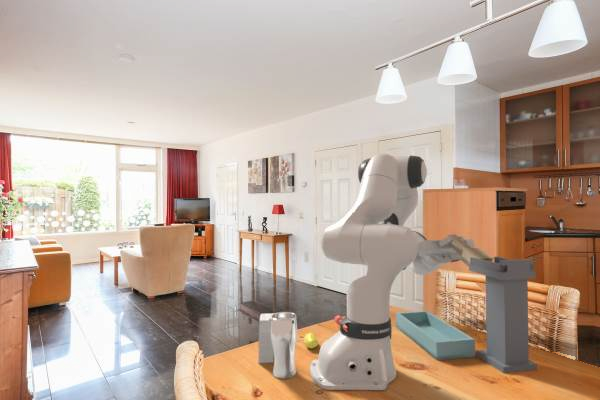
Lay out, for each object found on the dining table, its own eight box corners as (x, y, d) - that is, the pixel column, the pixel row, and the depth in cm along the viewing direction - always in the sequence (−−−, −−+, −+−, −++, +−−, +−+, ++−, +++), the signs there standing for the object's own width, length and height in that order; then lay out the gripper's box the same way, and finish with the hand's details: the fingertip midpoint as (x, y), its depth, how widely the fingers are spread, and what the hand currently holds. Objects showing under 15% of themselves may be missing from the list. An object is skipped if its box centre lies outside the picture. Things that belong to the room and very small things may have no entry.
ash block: (471, 270, 102) (475, 258, 101) (442, 242, 118) (444, 232, 116) (489, 269, 103) (493, 258, 102) (457, 241, 119) (460, 231, 117)
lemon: (316, 341, 109) (316, 329, 109) (318, 352, 101) (318, 339, 101) (303, 341, 109) (303, 329, 109) (304, 352, 101) (304, 339, 101)
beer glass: (282, 364, 93) (281, 309, 93) (302, 371, 89) (302, 314, 89) (265, 374, 88) (265, 316, 88) (286, 382, 84) (286, 322, 84)
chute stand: (503, 372, 87) (501, 261, 88) (470, 351, 100) (468, 253, 100) (537, 369, 89) (535, 259, 89) (500, 348, 102) (498, 252, 102)
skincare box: (259, 354, 100) (259, 313, 100) (275, 353, 100) (274, 312, 100) (258, 364, 93) (257, 320, 94) (274, 363, 94) (273, 320, 94)
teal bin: (436, 360, 95) (436, 342, 95) (395, 326, 120) (395, 312, 120) (475, 356, 97) (474, 339, 97) (427, 324, 122) (426, 310, 122)
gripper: (409, 246, 126) (425, 230, 114) (458, 244, 129) (480, 229, 118) (413, 262, 123) (430, 248, 111) (464, 260, 126) (486, 246, 115)
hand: (456, 238), depth 115 cm, fingers closed on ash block, 3 cm apart
